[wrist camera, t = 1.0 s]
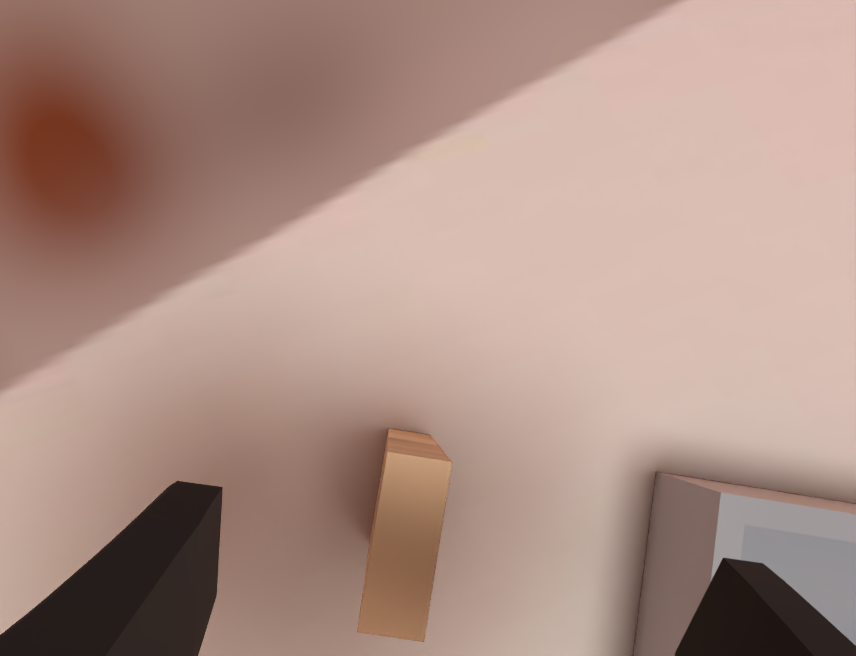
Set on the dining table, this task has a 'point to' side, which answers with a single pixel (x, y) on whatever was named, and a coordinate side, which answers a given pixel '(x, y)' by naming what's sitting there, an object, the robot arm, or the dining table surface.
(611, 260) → the dining table surface
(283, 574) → the dining table surface
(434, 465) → the wooden plank block
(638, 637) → the shallow gray planter box
